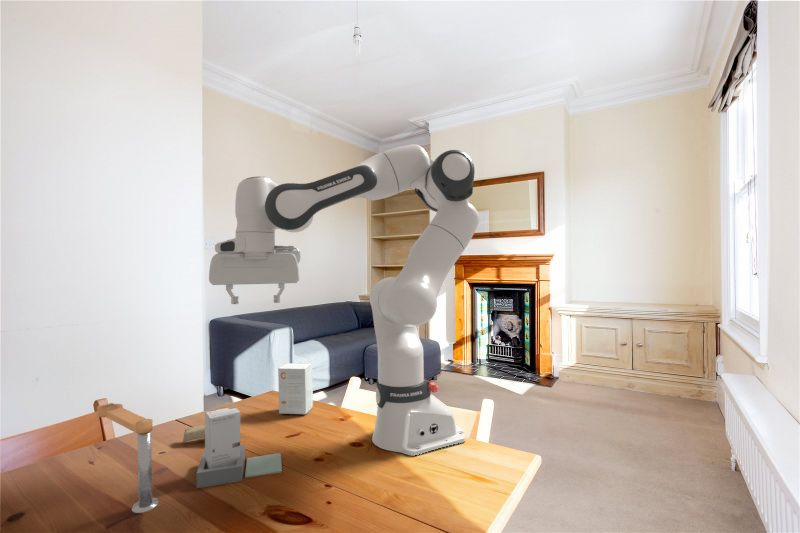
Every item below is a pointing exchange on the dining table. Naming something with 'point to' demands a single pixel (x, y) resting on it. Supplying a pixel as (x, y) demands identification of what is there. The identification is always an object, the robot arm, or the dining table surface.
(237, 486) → the dining table surface
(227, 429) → the skincare box
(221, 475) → the grey slotted base
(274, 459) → the mat
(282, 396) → the small box
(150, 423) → the wooden board
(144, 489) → the post
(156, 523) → the dining table surface
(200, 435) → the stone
